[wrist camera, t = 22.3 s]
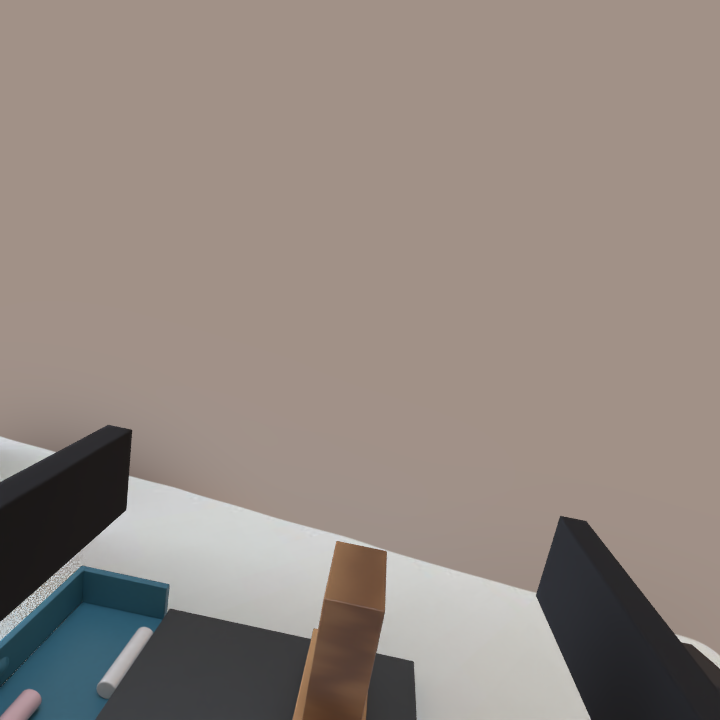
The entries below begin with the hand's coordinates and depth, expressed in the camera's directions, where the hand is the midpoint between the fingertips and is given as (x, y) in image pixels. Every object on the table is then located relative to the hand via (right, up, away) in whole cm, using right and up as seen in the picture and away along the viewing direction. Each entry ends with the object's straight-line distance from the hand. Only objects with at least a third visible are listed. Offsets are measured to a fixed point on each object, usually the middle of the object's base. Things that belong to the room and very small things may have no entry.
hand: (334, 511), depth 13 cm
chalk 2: (-16, -17, +18) cm, 29 cm away
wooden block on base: (-1, -20, +14) cm, 24 cm away
